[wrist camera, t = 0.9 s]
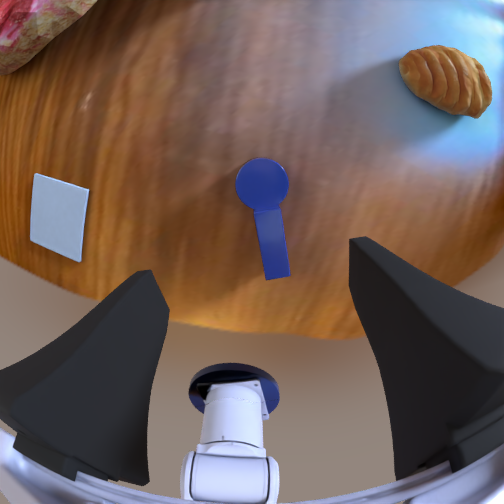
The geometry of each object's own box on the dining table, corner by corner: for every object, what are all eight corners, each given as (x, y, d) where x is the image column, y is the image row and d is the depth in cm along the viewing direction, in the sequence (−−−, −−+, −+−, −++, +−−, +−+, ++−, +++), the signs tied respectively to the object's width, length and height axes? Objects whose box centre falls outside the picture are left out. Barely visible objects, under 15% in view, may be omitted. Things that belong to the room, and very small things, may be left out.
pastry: (403, 113, 18) (428, 109, 14) (386, 40, 15) (407, 26, 12) (474, 119, 17) (500, 120, 13) (461, 56, 15) (485, 50, 11)
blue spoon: (296, 257, 22) (303, 274, 19) (253, 265, 22) (253, 282, 20) (281, 153, 19) (286, 154, 16) (232, 161, 19) (229, 164, 17)
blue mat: (89, 189, 20) (87, 190, 20) (81, 260, 22) (79, 262, 22) (36, 173, 19) (34, 173, 19) (32, 239, 21) (30, 240, 21)
